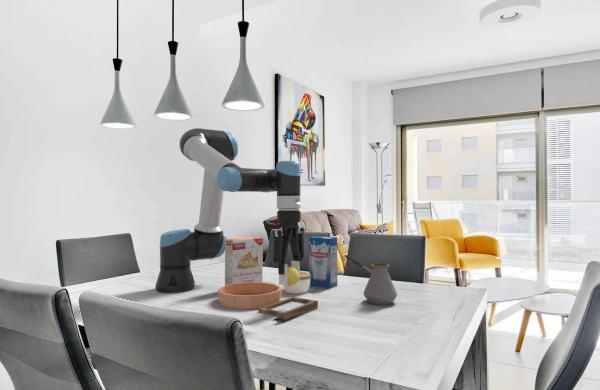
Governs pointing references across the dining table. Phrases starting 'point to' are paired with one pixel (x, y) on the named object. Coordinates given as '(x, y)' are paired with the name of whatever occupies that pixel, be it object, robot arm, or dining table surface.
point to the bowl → (249, 295)
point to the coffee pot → (378, 284)
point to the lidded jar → (299, 284)
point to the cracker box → (243, 260)
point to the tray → (293, 312)
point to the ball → (292, 276)
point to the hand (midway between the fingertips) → (289, 282)
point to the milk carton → (323, 261)
